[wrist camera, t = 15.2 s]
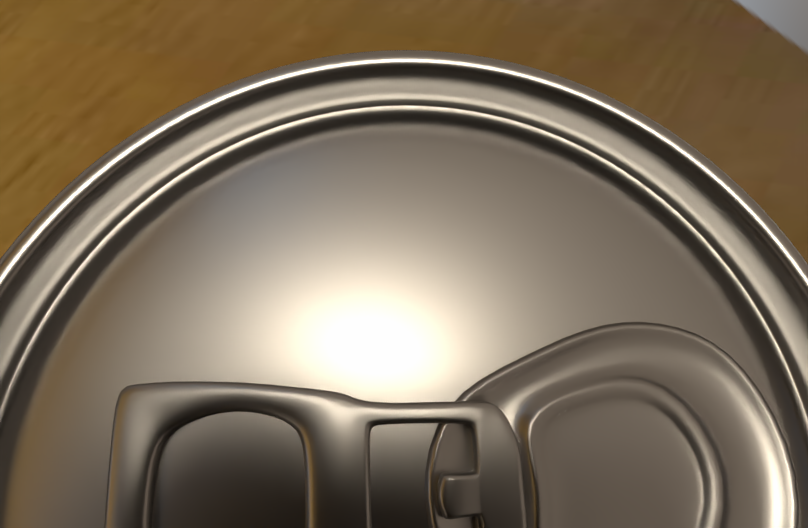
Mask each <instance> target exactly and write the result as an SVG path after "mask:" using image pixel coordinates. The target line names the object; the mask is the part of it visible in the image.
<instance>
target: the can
mask: <svg viewBox="0 0 808 528" xmlns="http://www.w3.org/2000/svg"><path fill="white" fill-rule="evenodd" d="M0 528H808V264H807V263H806V261H805V260H804V259H803V257H802V256H801V254H800V253H799V252H798V251H797V249H796V248H795V247H794V246H793V244H792V243H791V242H790V240H789V239H788V238H787V237H786V235H785V234H784V233H783V232H782V231H781V230H780V228H779V227H778V226H777V225H776V224H775V223H774V221H773V220H772V219H771V218H770V217H769V216H768V215H767V214H766V213H765V211H764V210H763V209H762V208H761V207H760V206H759V205H758V204H757V203H756V202H755V201H754V200H753V199H752V198H751V197H750V196H749V195H748V194H747V193H746V192H745V191H744V190H743V189H742V188H741V187H740V186H739V185H738V184H737V183H735V182H734V181H733V180H732V179H731V178H730V177H729V176H728V175H727V174H726V173H724V172H723V171H722V170H721V169H720V168H719V167H717V166H716V165H715V164H714V163H713V162H711V161H710V160H709V159H708V158H706V157H705V156H704V155H703V154H701V153H700V152H699V151H697V150H696V149H695V148H694V147H692V146H691V145H689V144H688V143H687V142H685V141H684V140H682V139H681V138H680V137H678V136H677V135H675V134H674V133H672V132H671V131H669V130H668V129H666V128H665V127H663V126H662V125H660V124H658V123H657V122H655V121H653V120H652V119H650V118H648V117H647V116H645V115H643V114H642V113H640V112H638V111H636V110H634V109H632V108H631V107H629V106H627V105H625V104H623V103H621V102H619V101H617V100H615V99H613V98H611V97H609V96H607V95H605V94H603V93H600V92H598V91H596V90H593V89H591V88H589V87H586V86H584V85H581V84H579V83H576V82H574V81H571V80H568V79H566V78H563V77H560V76H557V75H554V74H551V73H548V72H545V71H541V70H538V69H535V68H531V67H528V66H524V65H520V64H515V63H511V62H507V61H502V60H497V59H492V58H487V57H481V56H474V55H468V54H459V53H450V52H437V51H416V50H394V51H372V52H360V53H350V54H342V55H335V56H329V57H323V58H317V59H312V60H307V61H302V62H298V63H294V64H290V65H286V66H282V67H278V68H275V69H271V70H268V71H264V72H261V73H258V74H255V75H252V76H249V77H246V78H243V79H241V80H238V81H235V82H233V83H230V84H228V85H225V86H222V87H220V88H218V89H215V90H213V91H211V92H209V93H206V94H204V95H202V96H200V97H198V98H196V99H193V100H191V101H189V102H187V103H185V104H183V105H181V106H179V107H178V108H176V109H174V110H172V111H170V112H168V113H167V114H165V115H163V116H161V117H160V118H158V119H156V120H155V121H153V122H151V123H150V124H148V125H146V126H145V127H143V128H141V129H140V130H138V131H137V132H135V133H134V134H132V135H131V136H129V137H128V138H126V139H125V140H123V141H122V142H121V143H119V144H118V145H117V146H115V147H114V148H112V149H111V150H110V151H108V152H107V153H106V154H104V155H103V156H102V157H100V158H99V159H98V160H97V161H95V162H94V163H93V164H92V165H91V166H89V167H88V168H87V169H86V170H84V171H83V172H82V173H81V174H80V175H79V176H78V177H76V178H75V179H74V180H73V181H72V182H71V183H70V184H68V185H67V186H66V187H65V188H64V189H63V190H62V191H61V192H60V193H59V194H58V195H57V196H56V197H55V198H54V199H53V200H52V201H51V202H50V203H49V204H48V205H47V206H46V207H45V208H44V209H43V210H42V211H41V212H40V213H39V214H38V215H37V216H36V217H35V218H34V219H33V220H32V222H31V223H30V224H29V225H28V226H27V227H26V228H25V230H24V231H23V232H22V233H21V234H20V235H19V236H18V238H17V239H16V240H15V241H14V243H13V244H12V245H11V246H10V248H9V249H8V250H7V251H6V253H5V254H4V255H3V256H2V258H1V259H0Z"/></svg>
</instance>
